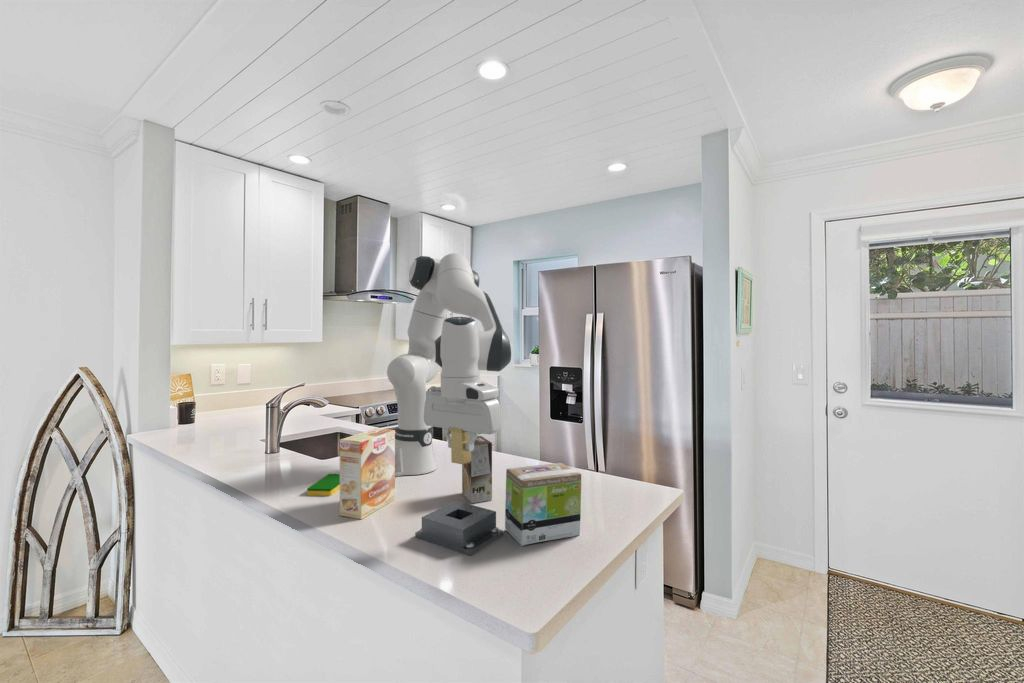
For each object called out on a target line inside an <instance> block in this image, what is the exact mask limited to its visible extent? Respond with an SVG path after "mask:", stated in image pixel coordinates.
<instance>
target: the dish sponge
mask: <svg viewBox="0 0 1024 683" xmlns="http://www.w3.org/2000/svg"><path fill="white" fill-rule="evenodd" d="M306 491H307V493H306V494H307V496H311V497H312V496H314V497H315V496H316V497H317V496H318V497H319V496H320V497H321V496H322V497H332V496H333V495H334V494H336V493H337V492H338V491H340V473H328V474H327V475H325V476H324V477H322V478H321V479H319V480H318V481H317V482H315V483H313V484H312V485H310V486H309V487H308V488H307V489H306Z"/></svg>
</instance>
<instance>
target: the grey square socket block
mask: <svg viewBox="0 0 1024 683" xmlns="http://www.w3.org/2000/svg"><path fill="white" fill-rule="evenodd" d="M414 534H415V535H414V537H415V538H417V539H419V540H422V541H426V542H429V543H432V544H434V545H438V546H441V547H443V548H446V549H449V550H453V551H456V552H458V553H461V554H464V555H467V556H472V555H475V554H476V553H478V552H479V551H481V550H482V549H484V548H485V547H486V546H488V545H490V544H491V543H493V542H494V541H496V540H497V539H499V538H500V537H502V536H504V530H503V529H500V528H499V527H497V511H496V510H492V509H488V508H485V507H481V506H477V505H474V504H471V503H470V504H469V503H466V502H462V501H458V500H455V501H453V502H450V503H449V504H447V505H445V506H442V507H441V508H438V509H436V510H434V511H431V512H429V513H427V514H426V515H423V516H421V528H420V529H419V530H418V531H415V533H414Z"/></svg>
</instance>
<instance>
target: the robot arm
mask: <svg viewBox="0 0 1024 683" xmlns="http://www.w3.org/2000/svg"><path fill="white" fill-rule="evenodd" d="M479 276H480V275H479V274H478V272H476V270H474V269H473V268H472V266H471V264H470V262H469V260H468V258H466V256H464V255H463V254H460V253H454V252H453V253H448V254H446V255H444V256H443V257H442V258H441V259H438V258H434V257H433V258H432V257H431V256H428V255H427V256H426V255H419V256H417V257H416V258H415V259H414V261H413V262H411V264H410V267H409V271H408V278H409V279H408V280H409V283H410V285H411V286H412V287H413V288H415V289H417V290H419V291H418V295H417V297H416V299H415V302H414V306H413V309H412V313H411V317H410V320H409V324H408V328H407V336H408V351H407V353H406V354H405V353H403V354H401V355H399V356H397V357H395V358H394V359H393V360H391V361H390V363H389V364H388V366H387V369H386V376H387V379H388V381H389V382H390V384H392V387H393V390H394V393H395V398H396V404H397V405H396V406H397V427H395V428H392V429H391V430H395V477H399V476H400V477H401V476H415V475H423V474H424V475H425V474H427V473H431V472H433V471H435V470H436V469H437V462H436V458H435V452H434V443H433V438H434V427H435V428H441V429H442V428H443V434H444V436H445V438H446V440H447V448H450V449H451V431H449V427H450V428H457V429H462V430H463V431H468V436H470V437H469V440H468V442H466V443H464V446H465V448H464V450H465V451H473V450H474V442H475V440H476V438H477V437H478V436H479V434H483V435H494V434H496V433H499V431H500V430H501V429H502V411H501V410H502V409H501V403H500V401H499V400H498V399H497V398H498V397H499V395H500V391H499V390H500V389H499V388H498V387H496V386H494V385H492V384H489V383H488V382H486V381H484V380H482V379H481V376H480V371H487V372H501V371H503V370H504V369H505V368H506V367H507V366H508V365H509V364H510V363H511V360H512V352H513V351H512V344H511V341H510V338H509V337H508V335H507V333H506V332H505V330H504V328H503V326H502V323H501V320H500V319H499V316H498V314H497V311H496V307H495V306H494V304H493V302H492V299H491V298H490V296H489V294H488V292H487V293H486V291H483V290H482V289H481V288H480V277H479ZM448 311H449V313H452V314H453V313H454V314H457V315H463V316H453V317H447V315H448ZM467 316H468V317H467ZM476 320H478V321H479V322H480V323H481V325H482V328H483V331H479V330H478V326H477V325H478V324H477V321H476ZM440 368H441V371H440ZM439 371H440V386H434V385H432V386H430V387H429V388H428V389H427V385H426V384H427V383H429V382H431V381H432V380H433V379H435V377H437V375H438V373H439Z"/></svg>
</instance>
